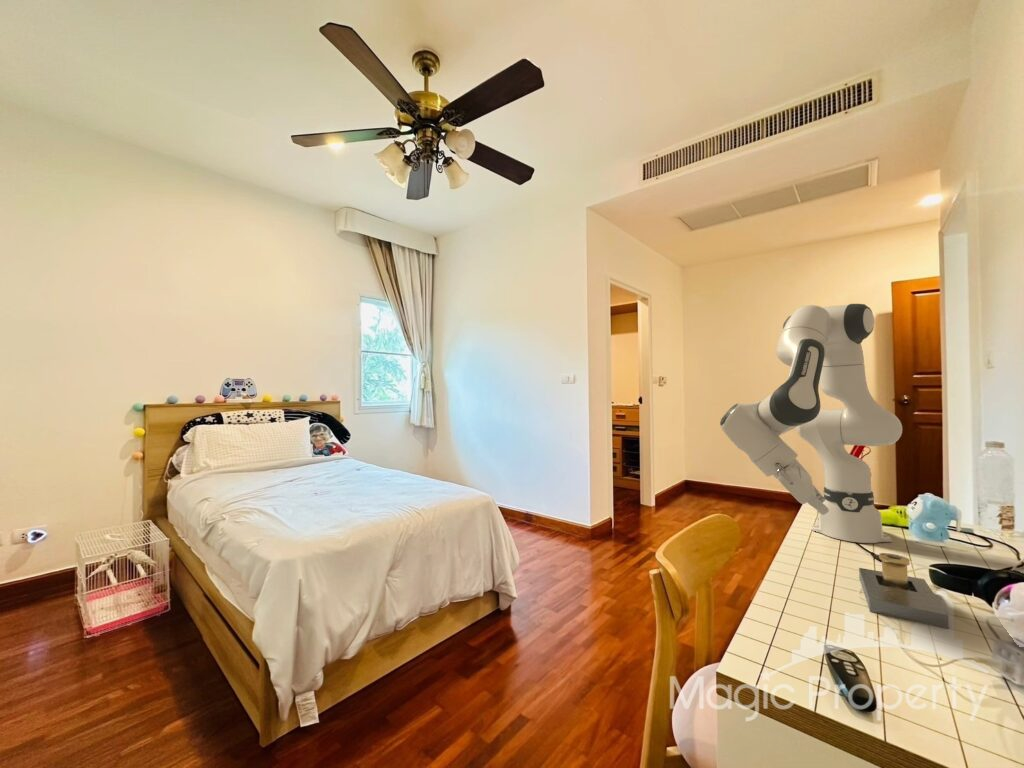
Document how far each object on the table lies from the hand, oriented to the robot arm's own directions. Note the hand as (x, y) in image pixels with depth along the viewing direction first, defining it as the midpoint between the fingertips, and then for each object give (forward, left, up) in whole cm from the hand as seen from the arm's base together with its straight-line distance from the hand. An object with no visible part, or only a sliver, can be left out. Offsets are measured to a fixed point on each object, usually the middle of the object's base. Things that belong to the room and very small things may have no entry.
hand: (824, 506), depth 97 cm
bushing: (+1, +12, -17) cm, 21 cm away
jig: (+4, +12, -17) cm, 21 cm away
